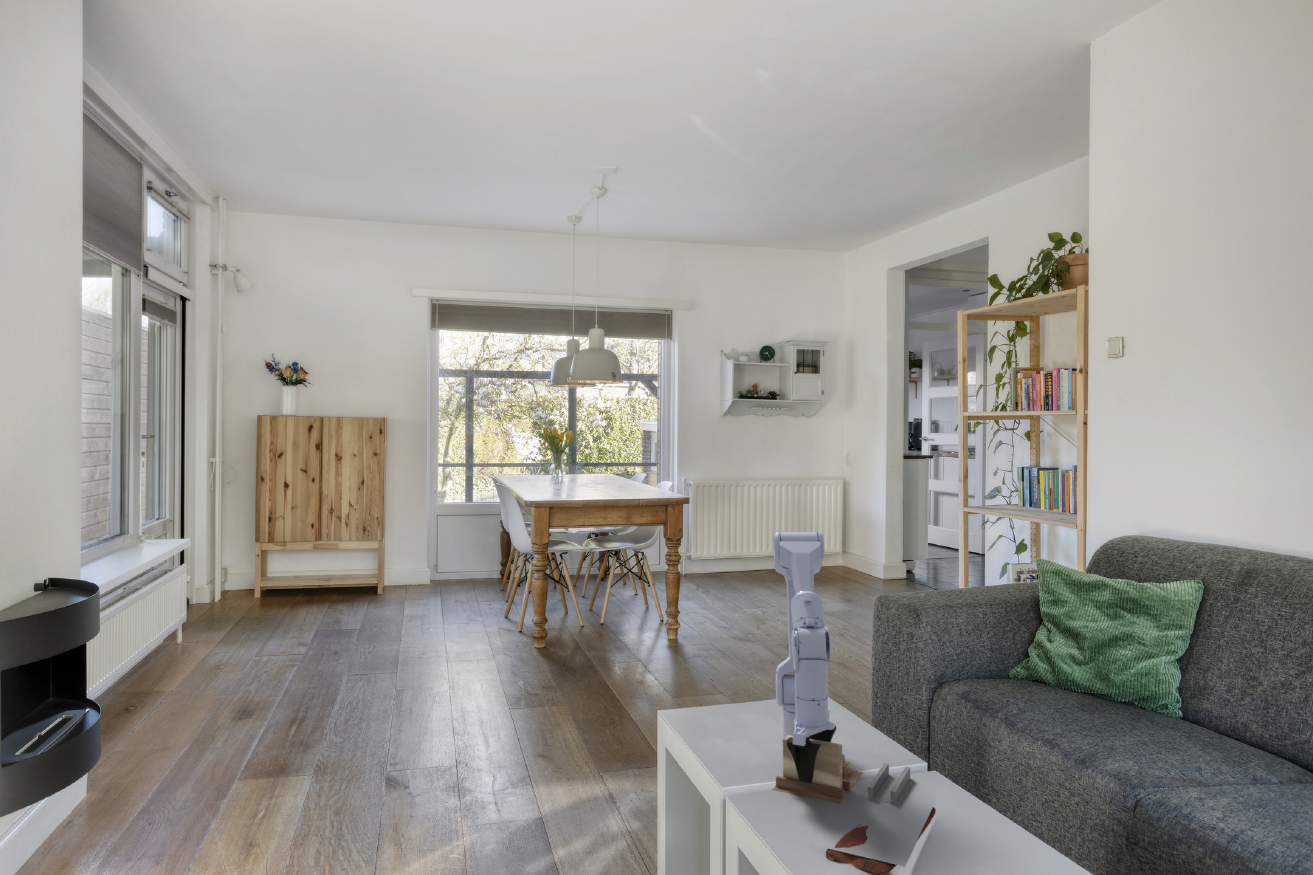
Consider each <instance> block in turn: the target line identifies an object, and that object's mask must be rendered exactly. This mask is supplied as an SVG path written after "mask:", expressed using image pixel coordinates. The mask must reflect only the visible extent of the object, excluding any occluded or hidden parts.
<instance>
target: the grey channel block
mask: <svg viewBox="0 0 1313 875" xmlns="http://www.w3.org/2000/svg"><path fill="white" fill-rule="evenodd" d="M914 781H915V779H914V778H911V767H910V766H905V767H904V768H903V769H902V772H901V774H900V775H899V776H898V775H892V774H890V764H889V763H887V762H884V763H883V764H882V765H881V767H880V769H879V770H878V771H877V773H876V774H875V776H874V777H873V779H872V780H871V782H870V783H869V784H868V785H867V793H865V796H864V797H863V799H866V800H871V801H876V802H881V803H882V802H883V803H886V804H892V805H897V806H900V805H901V803H902V802H903V801H904V798H906V797H905V796H906V795H907V794H908V791H909V789H910V788H911V786H912V785H913V783H914Z"/></svg>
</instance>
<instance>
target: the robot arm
mask: <svg viewBox="0 0 1313 875" xmlns="http://www.w3.org/2000/svg"><path fill="white" fill-rule="evenodd" d="M824 539H825V538H824V534H822V532H821V531H814V532H813V531H795V532H794V531H791V532H790V531H789V532H788V531H787V532H786V531H781V532H780V531H776V532H775V533H774V534H773V539H772V540H773V564H774V568H775V573H777V574H780V575H782V576H783V577H784V580H785V583H786V592H787V593H786V596H787V597H786V598H787V599H786V600H787V628H788V629H787V630H788V632H787V633H788V634H787V635H788V657H787V658H786V659H784V660H783V661H782V662H781V663H779V664H778V665H777V667H776V669H775V683H774V685H775V701H776V704H777V705H778V706H779V707H782V734H783V736H782V740H783V739H784V738H785V737H786V736H787V735H789V736H793V738H792V737H790V738H789V739H787V747H788V749H789V750H790V752H791V754H792V756H793V759H794V762H795V766H796V770H797V774H798V778H799V781H801V782H806V783H811V782H812V780H813V774H814V765H815V759H816V755H817V752H818V750H819V748H820V746H821V744H816V743H811V741H810V739H813V740H819V741H825V742H831V743H832V739H833V737H834V735H835V733H836V731H837V725H836V723H834V722H832V721H830V709H829V680H828V678H829V676H828V674H829V673H828V671H829V670H828V661H829V662H830V660H831V659H830V658H831V655H832V654H831V652H832V642H831V635H830V631H829V627H828V625H827V622H825V616H824V610H823V603H822V602H823V601H822V599H821V597H820V596H819V595H818V594H816V593H815V574H817V573H819V572H820V570H821V568H822V565H823V561H824V559H825V558H824V557H825V540H824ZM826 659H827V660H826ZM788 673H791V674H788ZM792 673H794V674H792Z"/></svg>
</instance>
